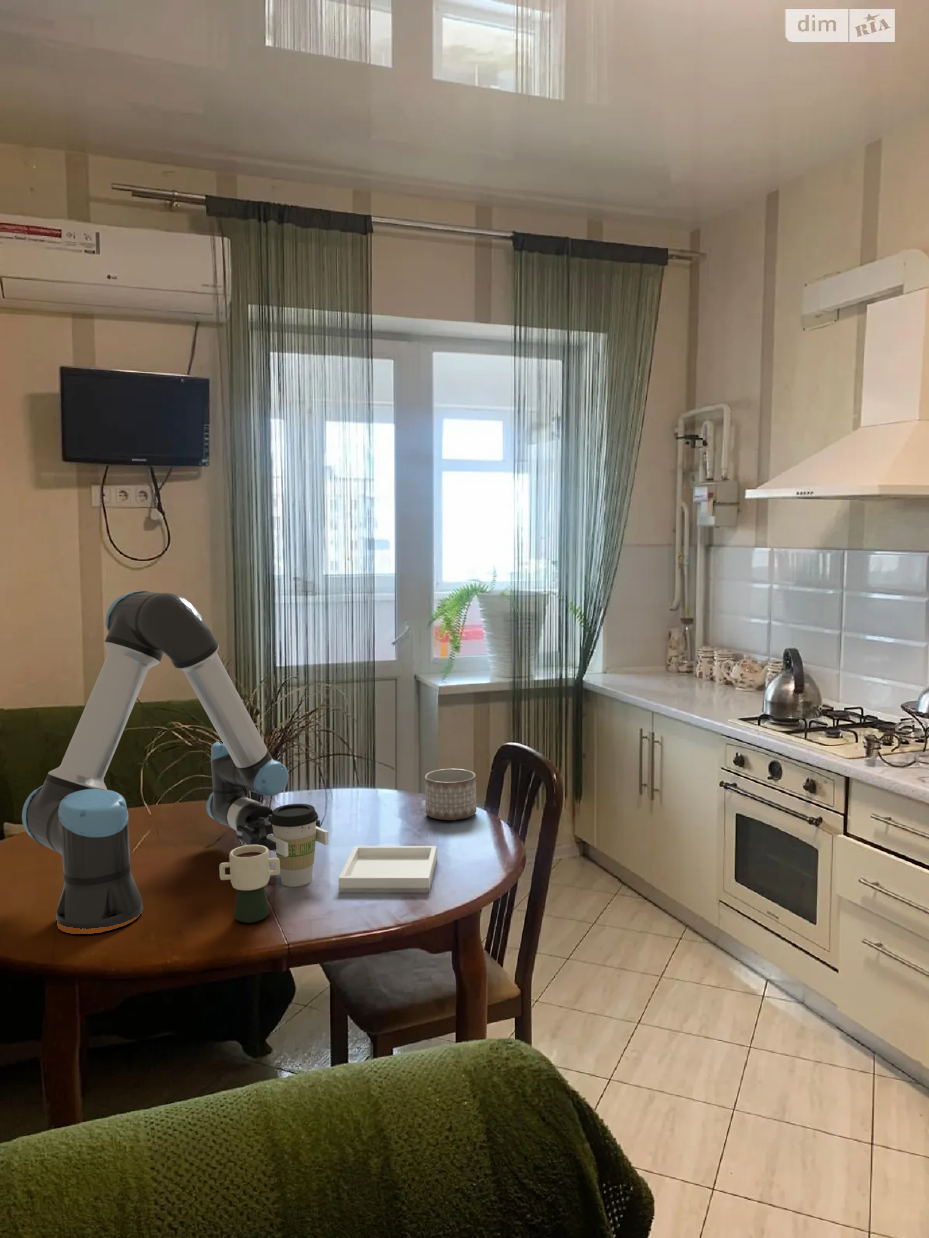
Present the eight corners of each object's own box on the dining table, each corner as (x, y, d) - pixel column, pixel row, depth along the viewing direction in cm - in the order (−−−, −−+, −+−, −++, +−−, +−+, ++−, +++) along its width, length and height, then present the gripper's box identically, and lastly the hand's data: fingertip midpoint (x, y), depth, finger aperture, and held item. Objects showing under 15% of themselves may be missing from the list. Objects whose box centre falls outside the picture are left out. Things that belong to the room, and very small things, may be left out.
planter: (415, 816, 225) (414, 775, 224) (452, 804, 234) (451, 765, 233) (449, 827, 216) (448, 785, 215) (486, 815, 225) (486, 774, 224)
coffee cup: (283, 894, 178) (280, 820, 177) (265, 878, 186) (261, 808, 185) (328, 882, 183) (325, 811, 182) (309, 868, 192) (306, 799, 190)
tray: (429, 892, 177) (428, 877, 177) (339, 892, 178) (338, 877, 178) (437, 859, 195) (436, 845, 195) (355, 859, 196) (354, 846, 196)
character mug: (281, 907, 172) (279, 841, 170) (282, 923, 165) (279, 854, 164) (223, 913, 170) (219, 847, 168) (220, 929, 163) (217, 860, 161)
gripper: (295, 823, 205) (351, 848, 188) (207, 847, 191) (260, 876, 174) (293, 791, 204) (350, 813, 187) (205, 813, 190) (258, 838, 173)
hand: (307, 843), depth 181 cm, fingers closed on coffee cup, 9 cm apart
